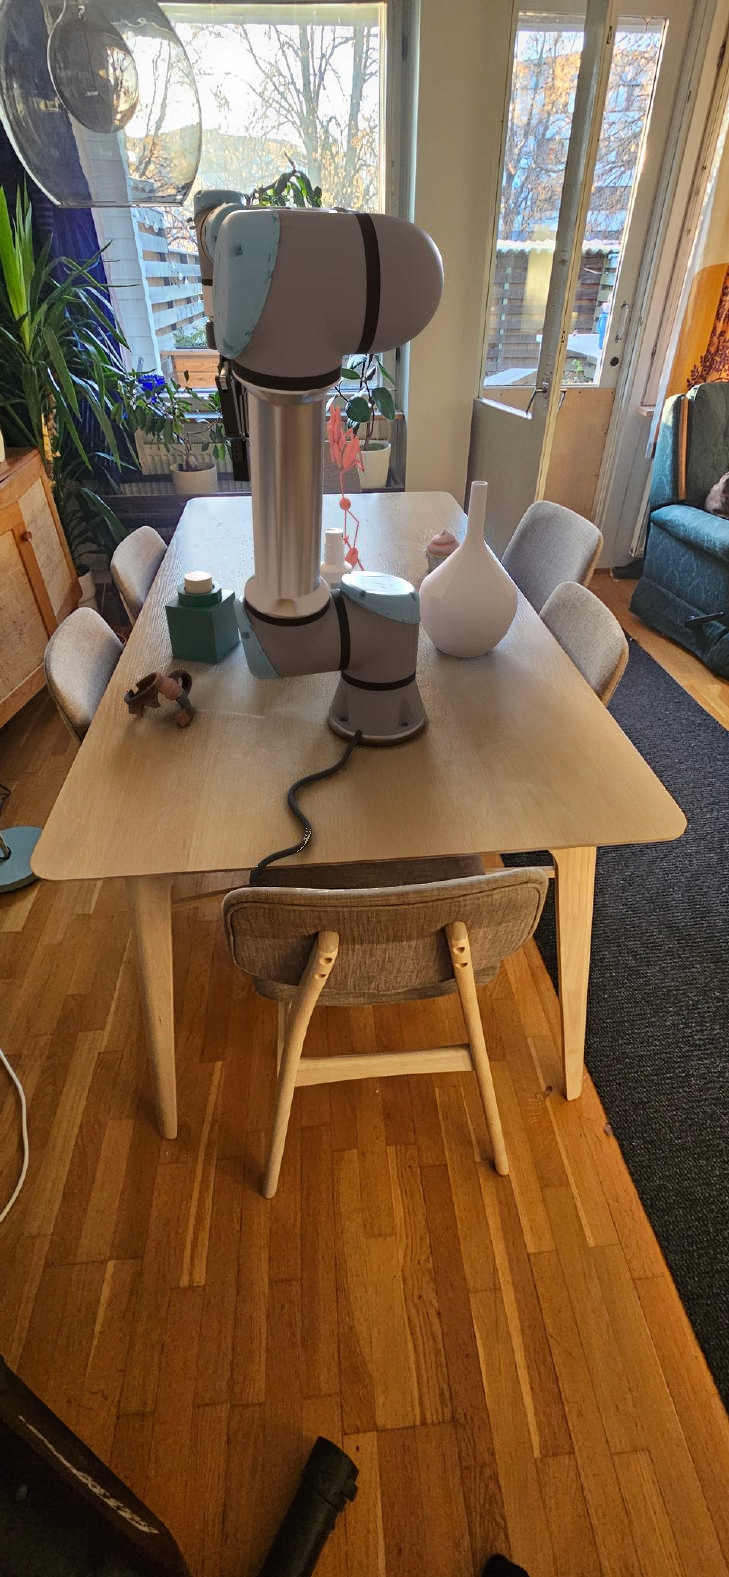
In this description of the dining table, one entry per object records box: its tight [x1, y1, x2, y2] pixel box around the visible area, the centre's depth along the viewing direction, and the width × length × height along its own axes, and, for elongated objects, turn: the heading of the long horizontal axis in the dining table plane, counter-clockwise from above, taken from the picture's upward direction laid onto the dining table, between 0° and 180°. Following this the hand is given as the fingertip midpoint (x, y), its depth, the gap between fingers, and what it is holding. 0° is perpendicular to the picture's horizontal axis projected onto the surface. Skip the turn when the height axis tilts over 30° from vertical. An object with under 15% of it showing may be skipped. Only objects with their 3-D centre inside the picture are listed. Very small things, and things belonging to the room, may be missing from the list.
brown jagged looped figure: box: [123, 668, 195, 727], centre depth 115 cm, size 12×10×8 cm
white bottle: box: [320, 527, 353, 590], centre depth 142 cm, size 7×7×18 cm
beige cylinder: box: [183, 570, 213, 593], centre depth 128 cm, size 5×5×3 cm
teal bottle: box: [164, 580, 241, 664], centre depth 132 cm, size 10×9×12 cm
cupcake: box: [423, 529, 460, 574], centre depth 168 cm, size 9×9×10 cm
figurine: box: [326, 402, 365, 571], centre depth 161 cm, size 15×26×35 cm, turn 12°
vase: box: [418, 480, 519, 658], centre depth 129 cm, size 18×18×30 cm
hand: (242, 480), depth 125 cm, fingers closed
